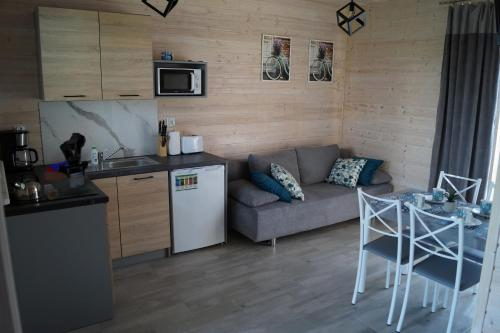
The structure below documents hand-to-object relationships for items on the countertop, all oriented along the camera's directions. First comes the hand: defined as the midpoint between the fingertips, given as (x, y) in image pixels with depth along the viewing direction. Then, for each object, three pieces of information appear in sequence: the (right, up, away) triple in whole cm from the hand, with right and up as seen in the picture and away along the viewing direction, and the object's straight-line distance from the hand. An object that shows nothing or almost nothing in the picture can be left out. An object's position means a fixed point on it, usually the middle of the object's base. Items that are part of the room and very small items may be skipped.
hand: (76, 176), depth 268 cm
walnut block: (-12, -14, -6) cm, 19 cm away
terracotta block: (-20, -11, +4) cm, 23 cm away
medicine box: (-1, -6, +2) cm, 7 cm away
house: (-35, -2, +52) cm, 63 cm away
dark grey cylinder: (-17, -12, -1) cm, 21 cm away
